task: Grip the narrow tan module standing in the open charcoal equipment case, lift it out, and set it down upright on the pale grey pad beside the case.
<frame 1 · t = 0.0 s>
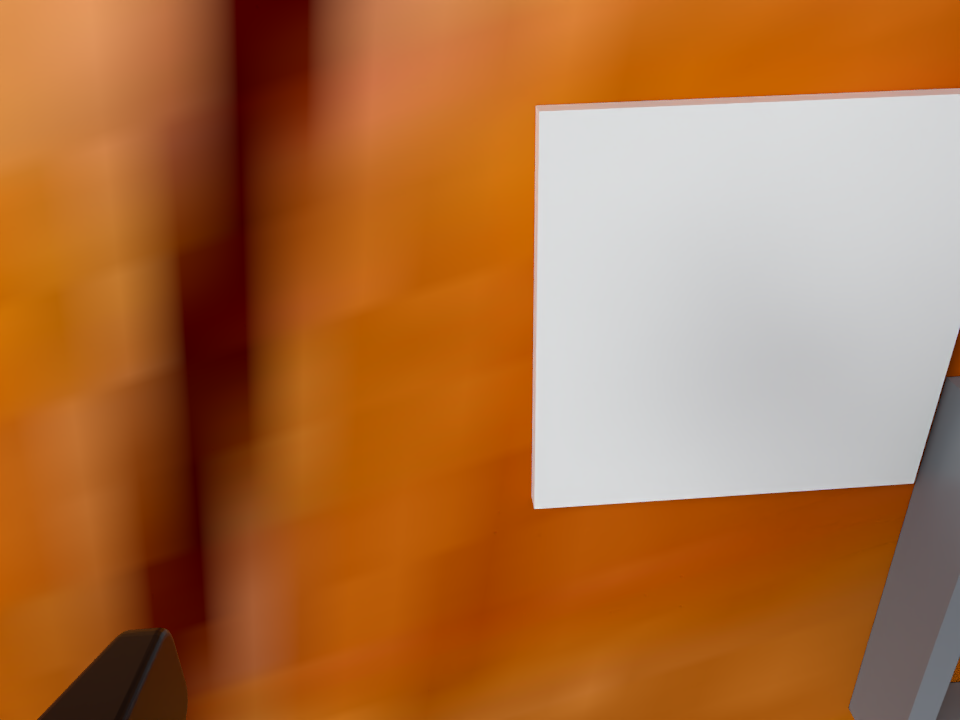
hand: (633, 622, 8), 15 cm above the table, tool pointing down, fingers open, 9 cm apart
grey pad: (745, 314, 24), on the table
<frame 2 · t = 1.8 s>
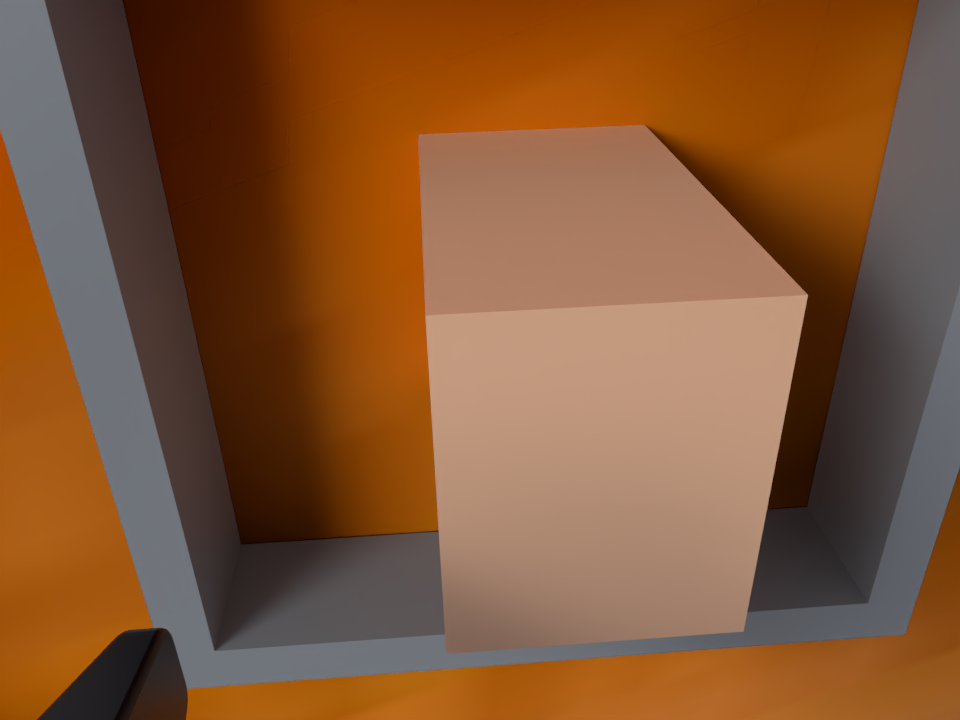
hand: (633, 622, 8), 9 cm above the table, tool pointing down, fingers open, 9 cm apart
charcoal case: (531, 262, 16), on the table
tan module: (559, 350, 13), in the charcoal case
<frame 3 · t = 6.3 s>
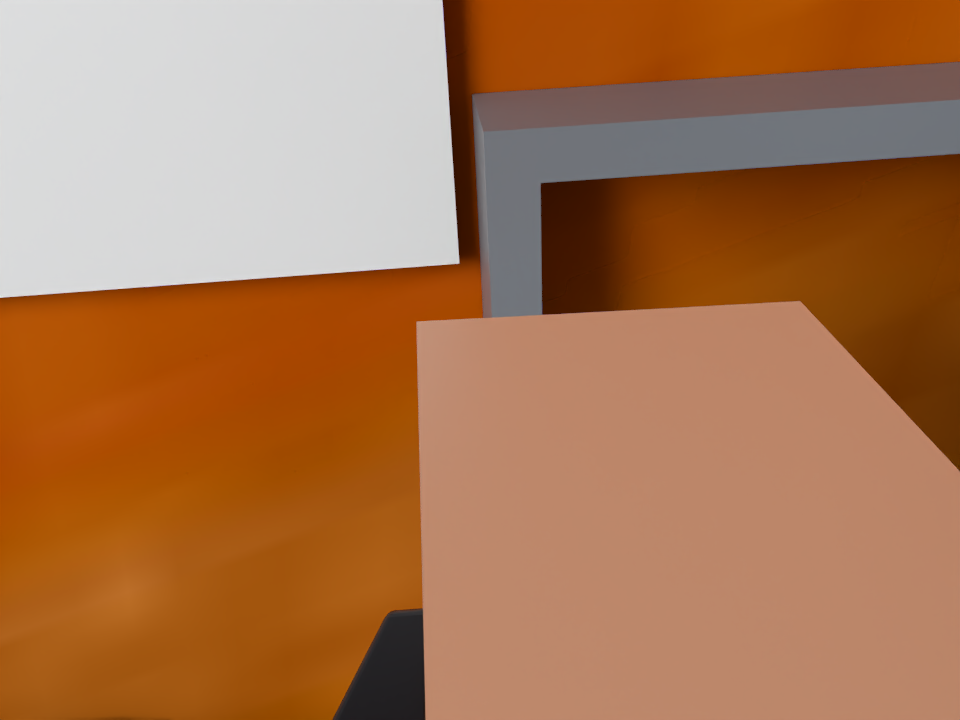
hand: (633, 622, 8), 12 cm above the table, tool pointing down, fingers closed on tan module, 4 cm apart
charcoal case: (780, 375, 21), on the table
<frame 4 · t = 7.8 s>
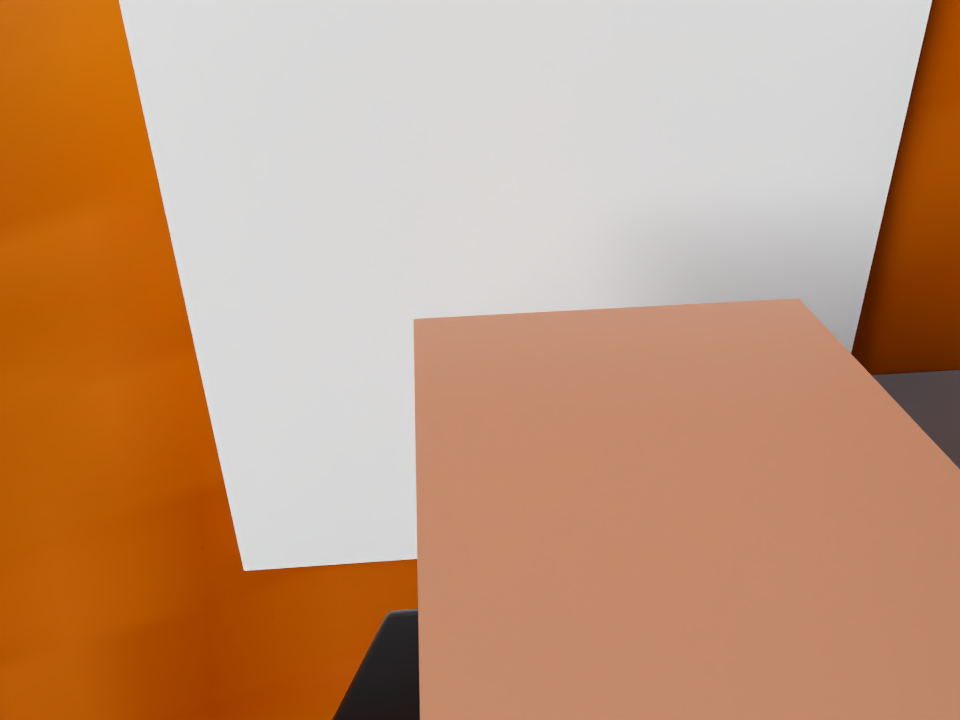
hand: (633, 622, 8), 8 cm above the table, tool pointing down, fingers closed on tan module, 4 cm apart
grey pad: (531, 278, 15), on the table
when the fingers open (4 cm above the table, at t = 9.2 s): tan module drops 1 cm, resting on grey pad.
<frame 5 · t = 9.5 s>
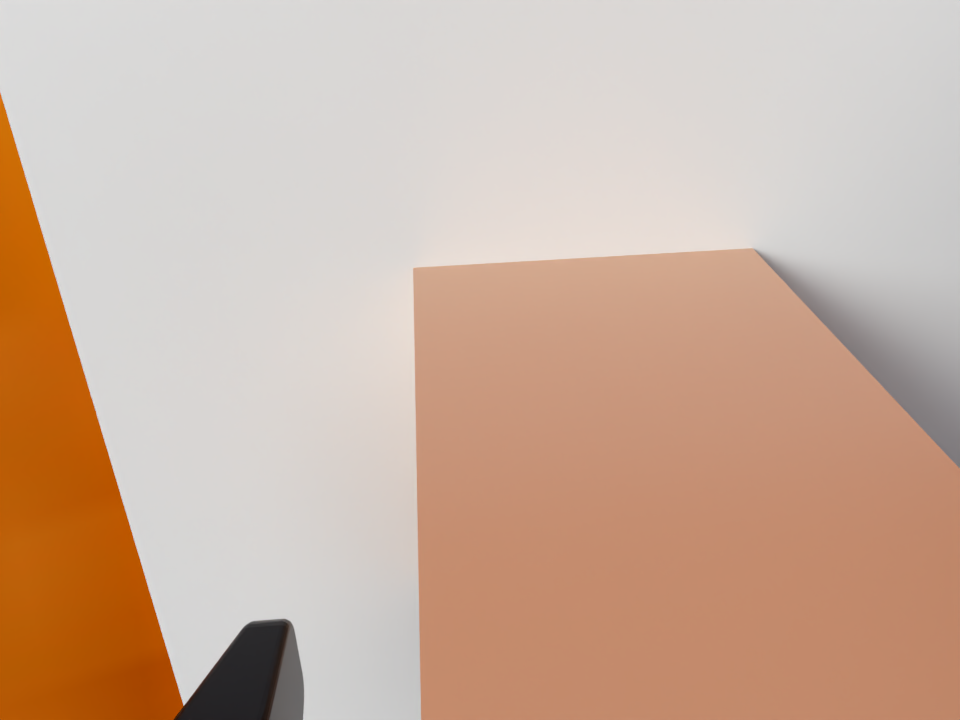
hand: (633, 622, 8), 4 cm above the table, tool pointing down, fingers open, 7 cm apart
grey pad: (569, 409, 12), on the table
tan module: (643, 643, 8), on the grey pad, point 4 cm above the table
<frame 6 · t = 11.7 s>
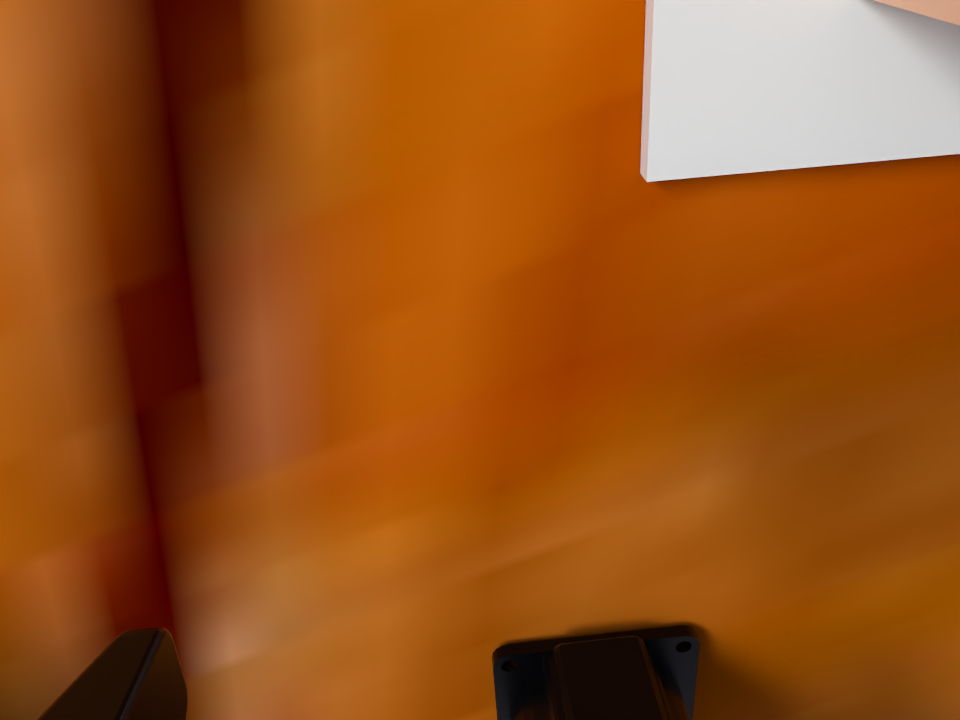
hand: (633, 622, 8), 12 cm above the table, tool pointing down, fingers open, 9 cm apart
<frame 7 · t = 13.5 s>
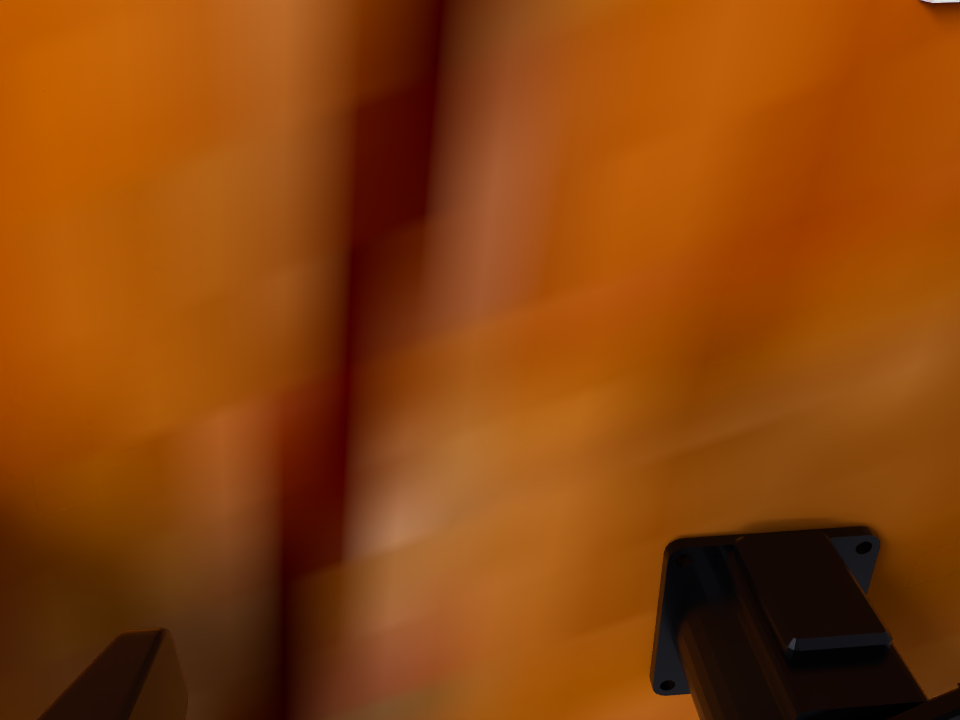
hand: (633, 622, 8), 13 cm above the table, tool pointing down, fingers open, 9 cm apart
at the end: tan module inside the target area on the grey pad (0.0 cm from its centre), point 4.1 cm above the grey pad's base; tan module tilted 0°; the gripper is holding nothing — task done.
